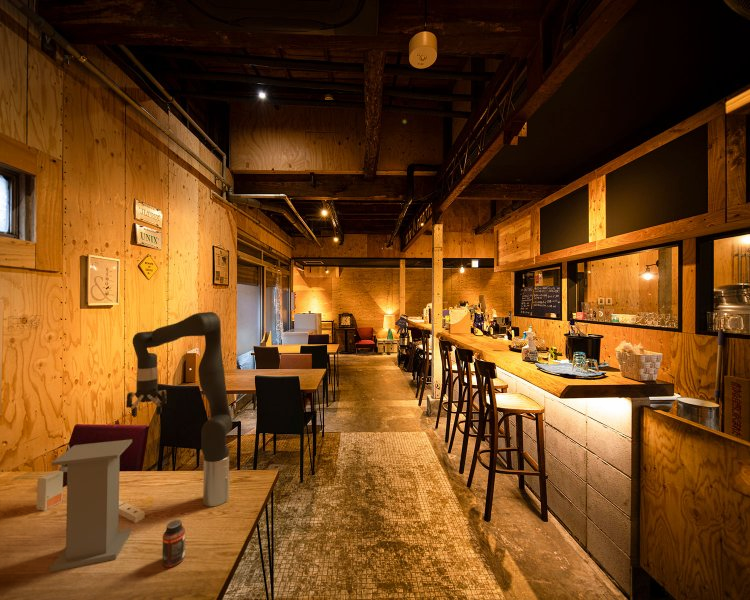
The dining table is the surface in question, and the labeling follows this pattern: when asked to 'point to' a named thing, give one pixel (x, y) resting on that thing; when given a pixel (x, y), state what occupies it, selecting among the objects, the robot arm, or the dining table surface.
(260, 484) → the dining table surface
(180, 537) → the supplement bottle
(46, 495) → the skincare box
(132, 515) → the white long bar
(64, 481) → the mate gourd
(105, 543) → the gray lectern stand
